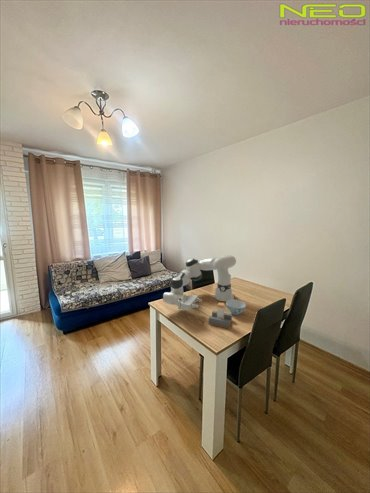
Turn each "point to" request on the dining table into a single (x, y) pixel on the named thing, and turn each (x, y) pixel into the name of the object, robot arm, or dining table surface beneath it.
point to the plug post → (220, 310)
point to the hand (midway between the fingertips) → (200, 303)
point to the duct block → (220, 320)
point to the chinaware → (236, 306)
